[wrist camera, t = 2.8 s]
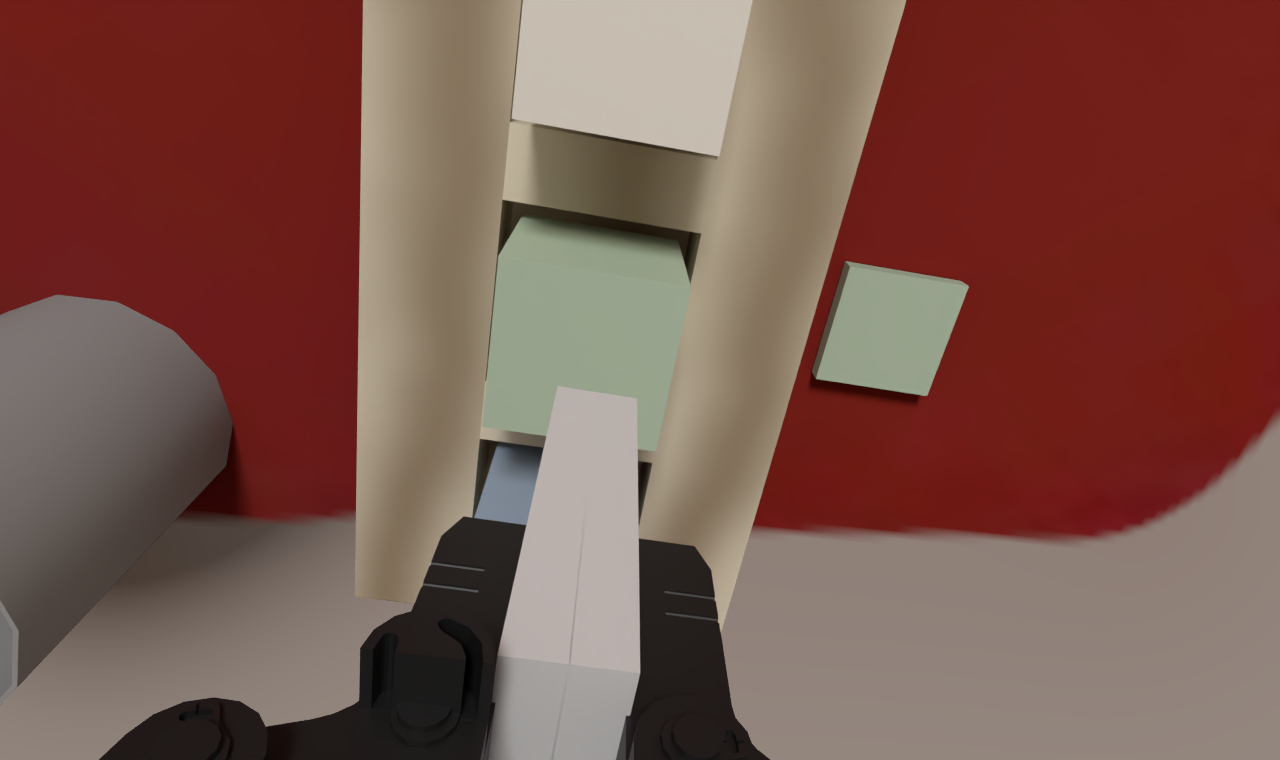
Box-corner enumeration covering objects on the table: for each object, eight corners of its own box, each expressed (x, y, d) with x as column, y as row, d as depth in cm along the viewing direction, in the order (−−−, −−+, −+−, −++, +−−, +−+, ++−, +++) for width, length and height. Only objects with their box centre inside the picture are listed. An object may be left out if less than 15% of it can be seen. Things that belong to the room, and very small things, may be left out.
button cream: (535, 103, 19) (511, 118, 15) (556, -93, 17) (535, -135, 13) (699, 133, 20) (718, 156, 16) (737, -55, 18) (770, -85, 14)
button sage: (507, 357, 22) (482, 426, 18) (523, 213, 21) (498, 256, 16) (650, 378, 23) (656, 451, 19) (678, 240, 21) (691, 287, 17)
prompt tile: (811, 371, 25) (815, 378, 25) (845, 261, 24) (850, 266, 23) (920, 388, 26) (926, 395, 25) (960, 281, 24) (968, 286, 23)
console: (381, 542, 28) (355, 596, 25) (404, -207, 18) (366, -251, 15) (709, 583, 29) (718, 639, 26) (897, -98, 19) (942, -122, 17)
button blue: (486, 549, 25) (460, 646, 21) (498, 440, 24) (472, 523, 20) (612, 565, 26) (610, 663, 22) (634, 459, 24) (636, 544, 20)
